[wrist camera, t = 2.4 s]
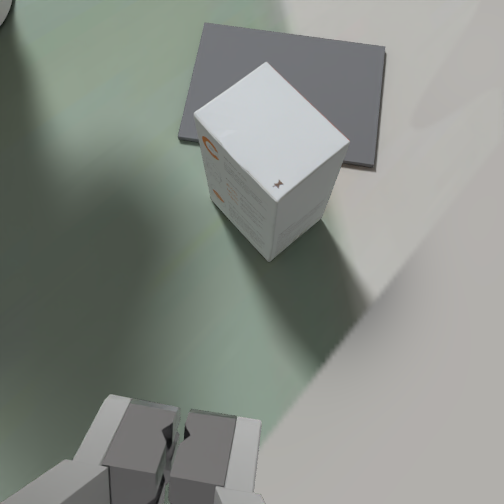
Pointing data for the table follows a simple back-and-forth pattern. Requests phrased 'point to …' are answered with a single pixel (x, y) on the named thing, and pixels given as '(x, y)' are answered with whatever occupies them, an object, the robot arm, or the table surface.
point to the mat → (295, 78)
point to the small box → (269, 158)
